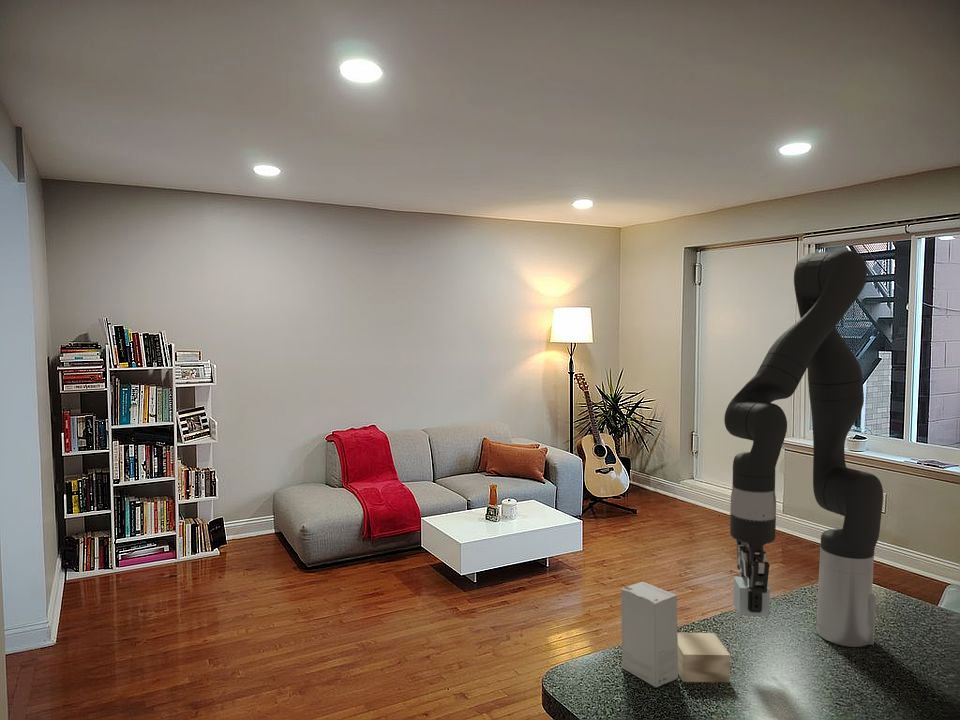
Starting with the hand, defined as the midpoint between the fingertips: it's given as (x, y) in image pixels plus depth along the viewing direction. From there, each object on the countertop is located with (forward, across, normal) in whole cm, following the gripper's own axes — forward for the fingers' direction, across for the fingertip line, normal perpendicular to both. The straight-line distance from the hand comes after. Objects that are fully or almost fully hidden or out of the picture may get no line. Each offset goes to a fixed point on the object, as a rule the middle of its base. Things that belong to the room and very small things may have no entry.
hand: (750, 604), depth 121 cm
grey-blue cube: (+1, 0, 0) cm, 1 cm away
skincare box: (+11, -7, +19) cm, 23 cm away
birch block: (+11, -4, +10) cm, 15 cm away
